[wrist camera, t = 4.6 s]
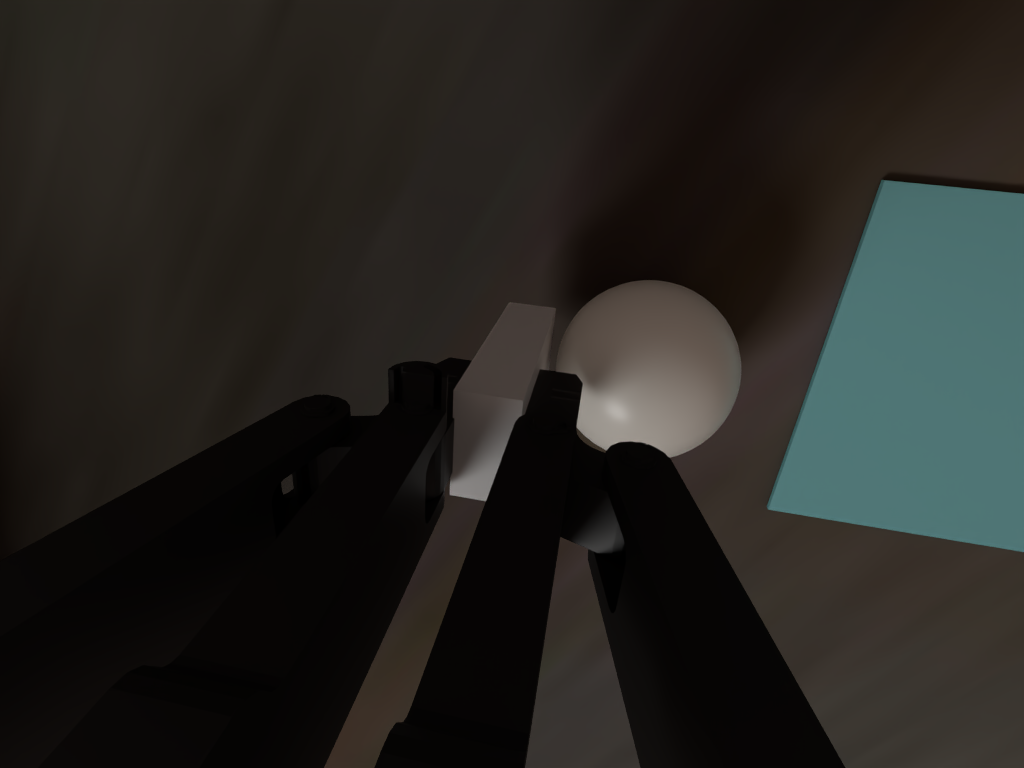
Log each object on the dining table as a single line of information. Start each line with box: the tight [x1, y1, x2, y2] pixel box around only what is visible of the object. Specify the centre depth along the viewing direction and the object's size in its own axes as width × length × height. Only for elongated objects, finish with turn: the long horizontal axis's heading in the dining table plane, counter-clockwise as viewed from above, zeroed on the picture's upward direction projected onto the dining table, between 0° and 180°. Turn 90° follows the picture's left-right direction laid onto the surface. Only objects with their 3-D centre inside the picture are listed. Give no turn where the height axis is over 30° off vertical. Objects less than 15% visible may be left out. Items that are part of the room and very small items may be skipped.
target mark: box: [767, 180, 1024, 552], centre depth 18 cm, size 12×12×1 cm
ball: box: [556, 280, 741, 458], centre depth 17 cm, size 6×6×6 cm
